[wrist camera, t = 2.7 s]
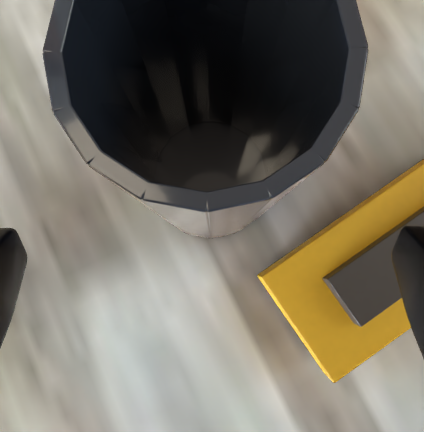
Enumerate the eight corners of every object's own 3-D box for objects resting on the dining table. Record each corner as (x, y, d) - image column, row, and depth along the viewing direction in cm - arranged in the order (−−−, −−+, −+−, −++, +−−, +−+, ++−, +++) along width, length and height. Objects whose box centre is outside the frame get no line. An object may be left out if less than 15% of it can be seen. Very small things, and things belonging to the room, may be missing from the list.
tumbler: (194, 261, 19) (160, 275, 7) (127, 162, 20) (-16, 10, 8) (294, 193, 20) (431, 89, 7) (225, 96, 20) (245, -151, 8)
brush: (316, 364, 19) (340, 390, 15) (253, 274, 19) (263, 278, 16) (502, 230, 20) (567, 225, 16) (437, 145, 20) (486, 122, 16)
